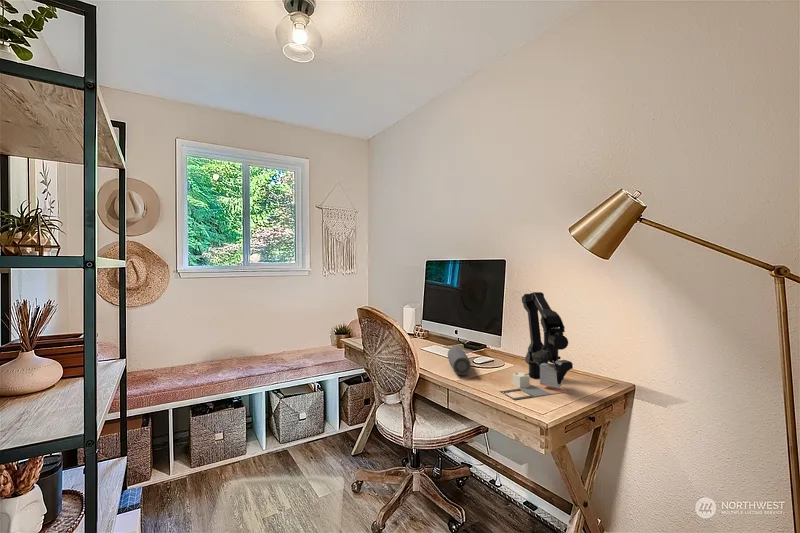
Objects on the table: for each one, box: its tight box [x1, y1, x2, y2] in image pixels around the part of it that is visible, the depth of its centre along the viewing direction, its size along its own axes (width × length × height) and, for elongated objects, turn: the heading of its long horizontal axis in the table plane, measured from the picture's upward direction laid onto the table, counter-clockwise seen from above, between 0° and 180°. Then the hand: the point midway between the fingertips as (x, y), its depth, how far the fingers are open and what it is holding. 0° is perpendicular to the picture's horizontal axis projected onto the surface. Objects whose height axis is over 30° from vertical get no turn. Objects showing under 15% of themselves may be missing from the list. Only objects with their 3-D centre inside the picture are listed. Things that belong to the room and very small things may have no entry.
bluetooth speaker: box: [447, 346, 472, 376], centre depth 190 cm, size 23×9×10 cm, turn 0°
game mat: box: [499, 384, 569, 401], centre depth 159 cm, size 10×27×1 cm, turn 110°
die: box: [512, 372, 531, 389], centre depth 167 cm, size 5×5×5 cm
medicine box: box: [539, 362, 563, 388], centre depth 162 cm, size 8×4×9 cm, turn 48°
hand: (551, 380), depth 162 cm, fingers closed on medicine box, 9 cm apart
